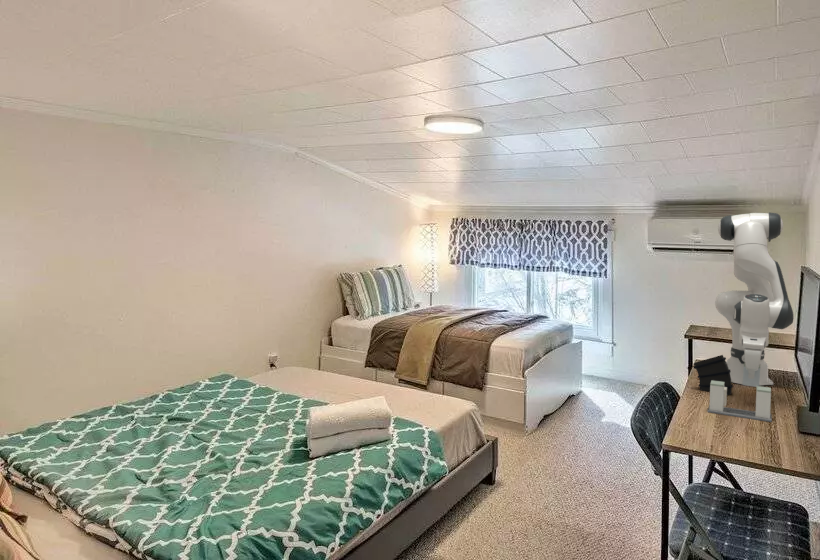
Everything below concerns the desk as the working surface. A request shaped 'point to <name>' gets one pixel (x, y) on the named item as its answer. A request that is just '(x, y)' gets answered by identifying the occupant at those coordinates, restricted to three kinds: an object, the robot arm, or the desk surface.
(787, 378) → the desk surface
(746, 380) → the block
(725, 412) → the rail plate
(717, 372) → the black ridged block
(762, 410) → the block
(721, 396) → the block
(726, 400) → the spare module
